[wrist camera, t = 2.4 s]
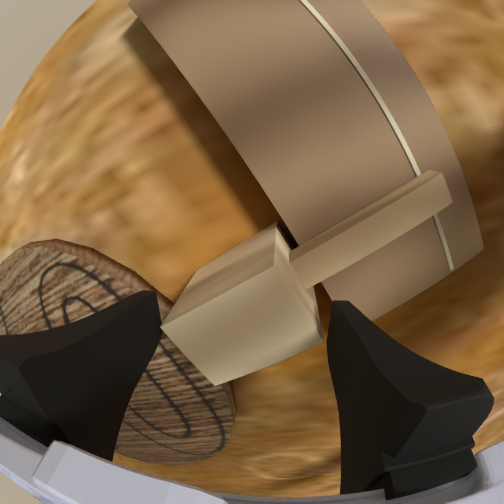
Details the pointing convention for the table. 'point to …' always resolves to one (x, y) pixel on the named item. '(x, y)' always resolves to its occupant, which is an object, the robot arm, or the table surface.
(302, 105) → the board
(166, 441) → the trivet
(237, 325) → the beige block with handle
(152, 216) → the table surface
